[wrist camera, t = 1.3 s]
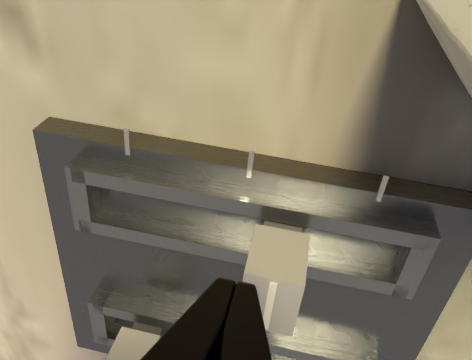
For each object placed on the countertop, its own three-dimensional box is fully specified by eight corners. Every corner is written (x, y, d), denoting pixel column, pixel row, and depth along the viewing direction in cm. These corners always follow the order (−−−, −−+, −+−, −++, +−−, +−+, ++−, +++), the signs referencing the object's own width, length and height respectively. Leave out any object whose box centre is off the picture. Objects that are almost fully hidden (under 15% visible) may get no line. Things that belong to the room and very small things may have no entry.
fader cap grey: (312, 206, 21) (305, 287, 17) (300, 255, 22) (291, 338, 18) (262, 197, 21) (243, 274, 17) (255, 246, 23) (236, 325, 19)
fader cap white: (171, 308, 27) (140, 384, 23) (171, 343, 29) (143, 418, 25) (134, 300, 27) (98, 373, 23) (137, 335, 29) (104, 408, 25)
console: (495, 176, 20) (514, 213, 17) (380, 398, 31) (383, 437, 28) (45, 99, 22) (13, 122, 20) (87, 329, 33) (69, 360, 31)
